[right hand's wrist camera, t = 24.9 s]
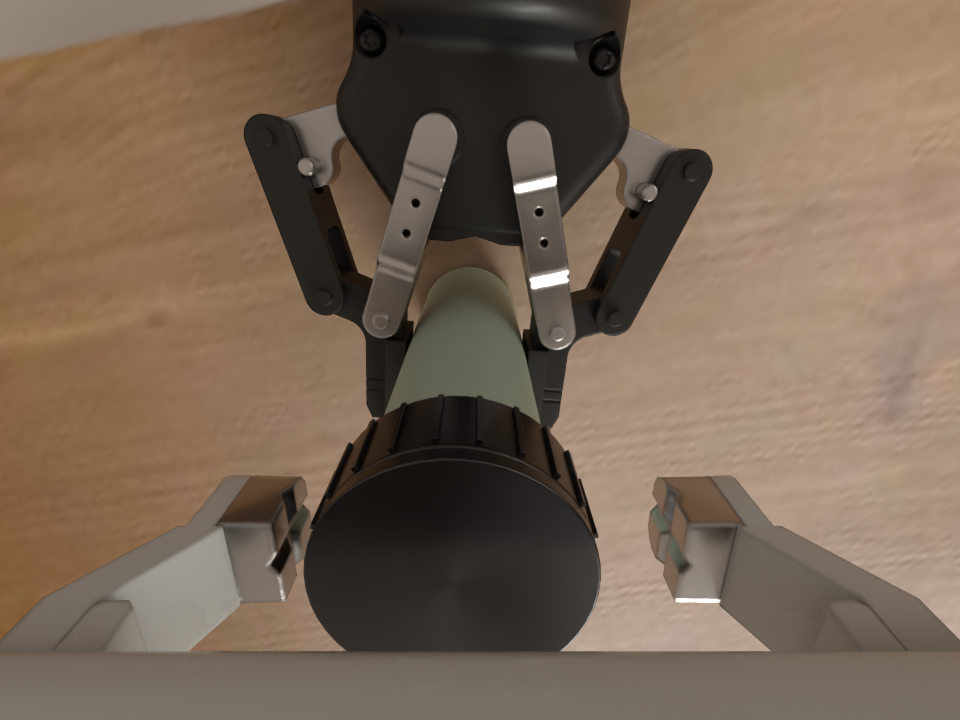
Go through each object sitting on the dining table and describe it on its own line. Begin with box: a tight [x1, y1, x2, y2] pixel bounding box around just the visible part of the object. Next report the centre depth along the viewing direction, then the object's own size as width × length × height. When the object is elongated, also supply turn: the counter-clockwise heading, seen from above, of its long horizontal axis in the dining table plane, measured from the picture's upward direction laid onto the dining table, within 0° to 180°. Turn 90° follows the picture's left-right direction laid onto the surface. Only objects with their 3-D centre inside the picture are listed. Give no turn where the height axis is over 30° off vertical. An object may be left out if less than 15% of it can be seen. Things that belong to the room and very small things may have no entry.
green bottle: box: [384, 267, 541, 424], centre depth 17 cm, size 4×4×15 cm
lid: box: [304, 394, 601, 652], centre depth 10 cm, size 5×5×2 cm
